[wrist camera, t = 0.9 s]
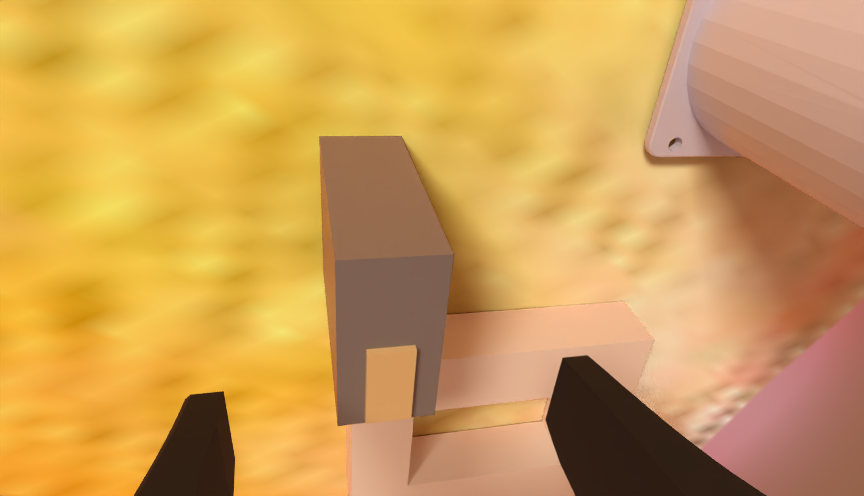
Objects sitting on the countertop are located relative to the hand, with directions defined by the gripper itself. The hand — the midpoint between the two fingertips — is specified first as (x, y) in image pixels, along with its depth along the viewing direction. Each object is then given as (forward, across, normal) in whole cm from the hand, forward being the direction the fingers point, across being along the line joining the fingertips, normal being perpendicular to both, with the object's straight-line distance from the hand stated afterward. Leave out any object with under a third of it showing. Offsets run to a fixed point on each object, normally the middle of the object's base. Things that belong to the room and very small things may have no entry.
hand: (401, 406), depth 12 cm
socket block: (+9, -6, +10) cm, 14 cm away
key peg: (+9, 0, 0) cm, 9 cm away
